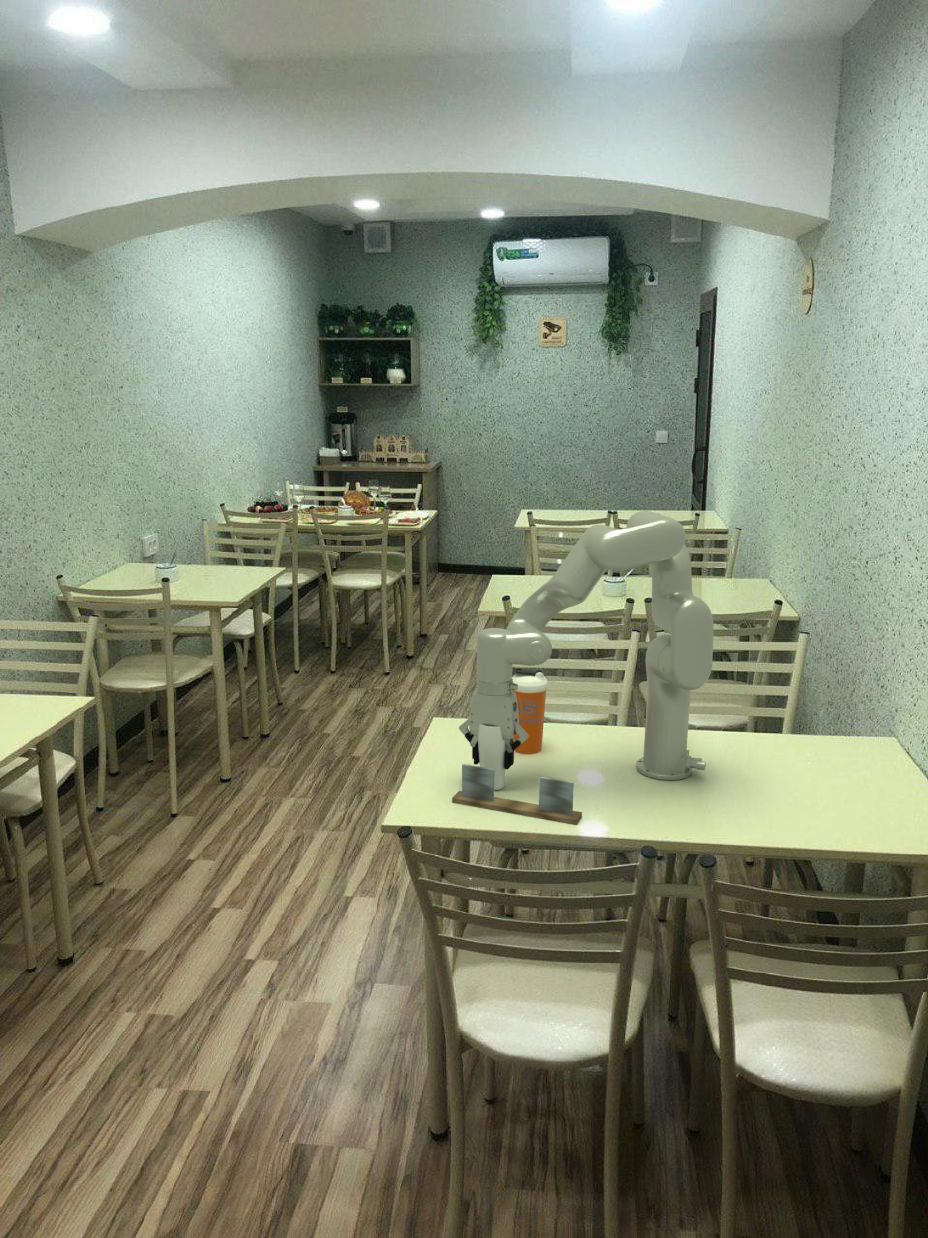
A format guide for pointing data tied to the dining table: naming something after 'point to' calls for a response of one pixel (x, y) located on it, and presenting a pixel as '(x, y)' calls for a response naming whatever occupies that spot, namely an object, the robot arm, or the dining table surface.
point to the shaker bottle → (530, 707)
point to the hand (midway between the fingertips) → (492, 764)
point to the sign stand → (551, 801)
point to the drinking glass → (492, 752)
